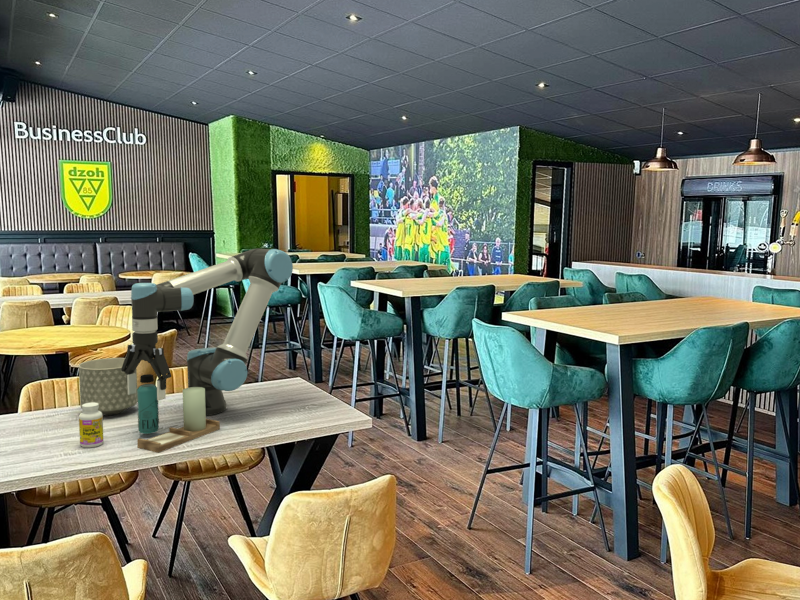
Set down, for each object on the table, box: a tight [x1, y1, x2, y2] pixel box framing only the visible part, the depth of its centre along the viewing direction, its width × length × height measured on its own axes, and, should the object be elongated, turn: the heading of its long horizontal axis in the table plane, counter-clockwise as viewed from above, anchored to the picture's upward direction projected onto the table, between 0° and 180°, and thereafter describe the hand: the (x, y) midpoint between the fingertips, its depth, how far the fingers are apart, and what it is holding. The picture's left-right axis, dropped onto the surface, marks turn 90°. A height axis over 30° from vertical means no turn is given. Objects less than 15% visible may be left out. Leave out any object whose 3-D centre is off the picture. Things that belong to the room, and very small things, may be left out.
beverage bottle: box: [137, 373, 160, 435], centre depth 211 cm, size 6×7×20 cm
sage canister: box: [182, 387, 207, 432], centre depth 214 cm, size 7×7×13 cm
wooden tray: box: [136, 418, 221, 453], centre depth 209 cm, size 9×26×3 cm, turn 152°
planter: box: [78, 357, 138, 416], centre depth 236 cm, size 19×19×18 cm
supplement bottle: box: [78, 402, 104, 448], centre depth 202 cm, size 7×7×13 cm
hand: (146, 396), depth 210 cm, fingers open, 13 cm apart
